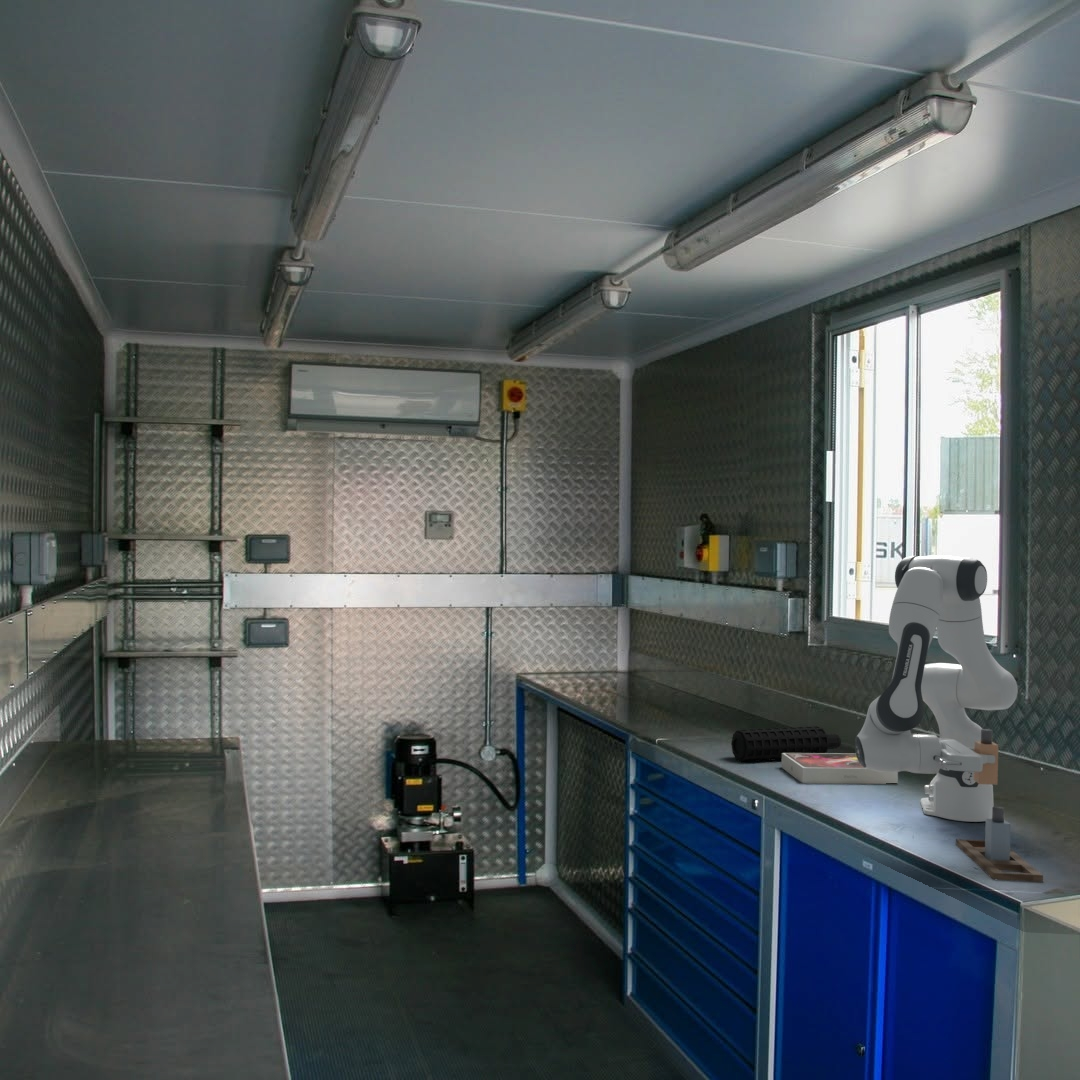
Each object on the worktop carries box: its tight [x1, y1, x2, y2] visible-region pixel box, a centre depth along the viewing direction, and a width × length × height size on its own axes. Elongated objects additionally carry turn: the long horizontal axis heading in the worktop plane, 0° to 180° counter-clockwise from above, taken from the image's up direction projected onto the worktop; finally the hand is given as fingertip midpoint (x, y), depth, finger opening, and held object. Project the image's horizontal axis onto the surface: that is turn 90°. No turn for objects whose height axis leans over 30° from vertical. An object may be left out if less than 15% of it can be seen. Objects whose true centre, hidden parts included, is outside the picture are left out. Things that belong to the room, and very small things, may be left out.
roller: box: [730, 726, 842, 763], centre depth 353 cm, size 38×10×10 cm, turn 110°
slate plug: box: [984, 806, 1011, 861], centre depth 241 cm, size 4×4×12 cm
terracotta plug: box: [974, 728, 999, 786], centre depth 250 cm, size 4×4×12 cm
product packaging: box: [780, 752, 899, 785], centre depth 328 cm, size 22×28×5 cm
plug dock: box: [955, 838, 1044, 883], centre depth 241 cm, size 26×10×2 cm, turn 176°
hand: (990, 756), depth 250 cm, fingers closed on terracotta plug, 4 cm apart
